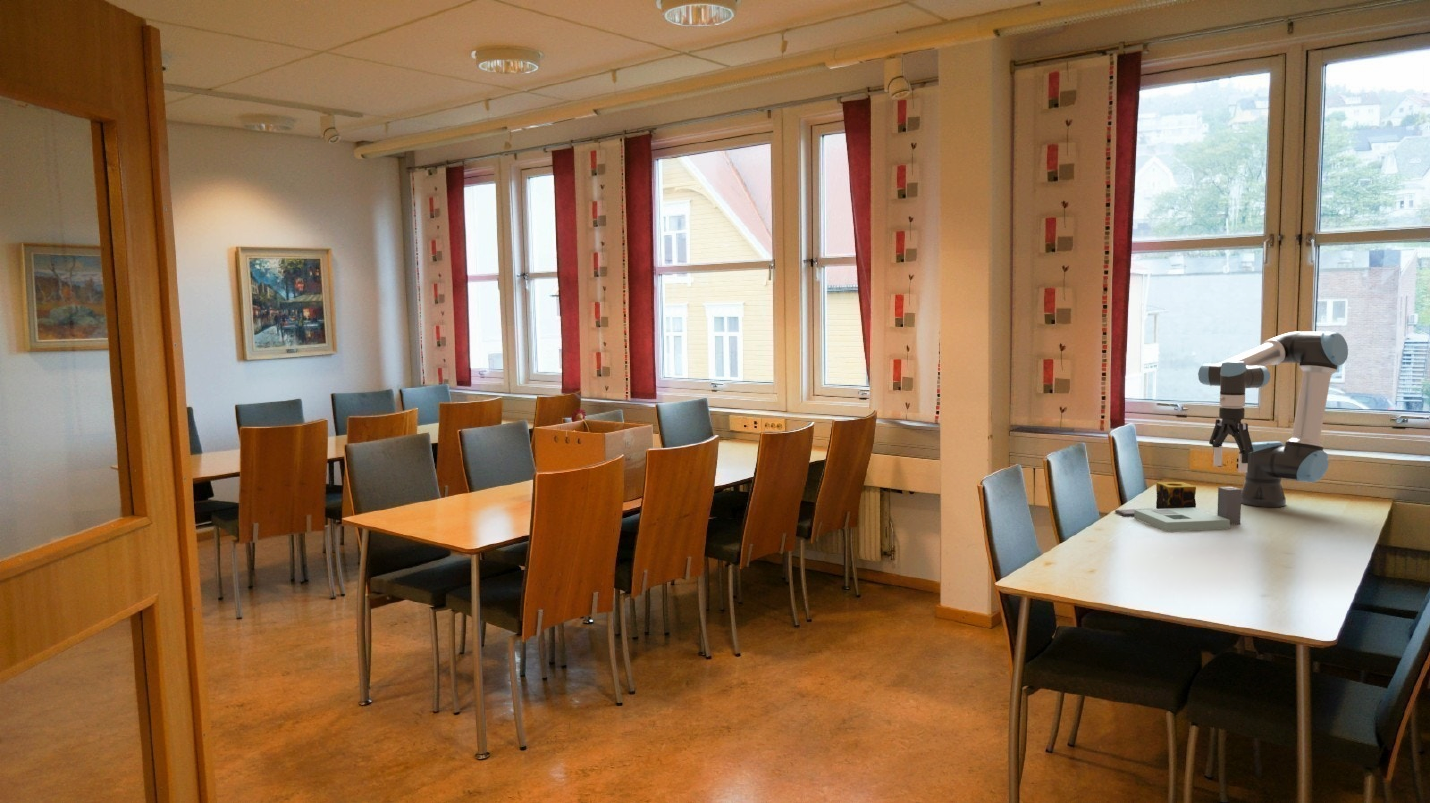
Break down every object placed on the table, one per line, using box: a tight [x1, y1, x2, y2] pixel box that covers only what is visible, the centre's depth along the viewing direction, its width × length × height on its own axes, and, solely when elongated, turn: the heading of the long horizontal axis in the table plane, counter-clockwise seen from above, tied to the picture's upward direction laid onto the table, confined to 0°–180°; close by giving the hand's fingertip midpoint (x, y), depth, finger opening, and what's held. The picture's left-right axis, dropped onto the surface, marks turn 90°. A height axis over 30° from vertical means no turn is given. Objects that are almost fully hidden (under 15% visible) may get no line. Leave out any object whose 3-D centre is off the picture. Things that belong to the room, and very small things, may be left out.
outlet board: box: [1134, 507, 1231, 532], centre depth 325 cm, size 22×20×3 cm
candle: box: [1155, 481, 1197, 509], centre depth 343 cm, size 10×10×10 cm
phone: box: [1114, 508, 1145, 518], centre depth 340 cm, size 14×7×1 cm, turn 95°
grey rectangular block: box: [1216, 486, 1242, 526], centre depth 324 cm, size 5×5×12 cm
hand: (1229, 469), depth 323 cm, fingers open, 13 cm apart
